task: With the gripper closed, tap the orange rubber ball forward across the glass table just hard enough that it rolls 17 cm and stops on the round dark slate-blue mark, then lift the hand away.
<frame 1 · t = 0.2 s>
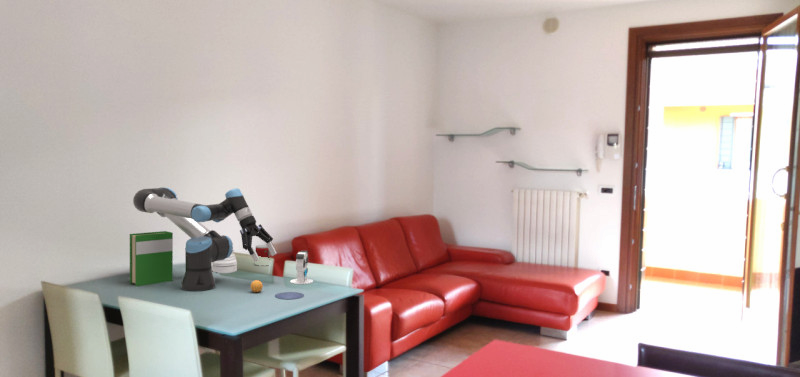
hand: (265, 257, 276), 15 cm above the table, tool tilted 35°, fingers open, 13 cm apart
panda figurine: (301, 282, 291), on the table
honey pot: (224, 271, 313), on the table
canned food: (262, 265, 331), on the table
ball: (256, 286, 267), on the table
hardback book: (151, 282, 282), on the table, touching arm
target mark: (289, 295, 262), on the table
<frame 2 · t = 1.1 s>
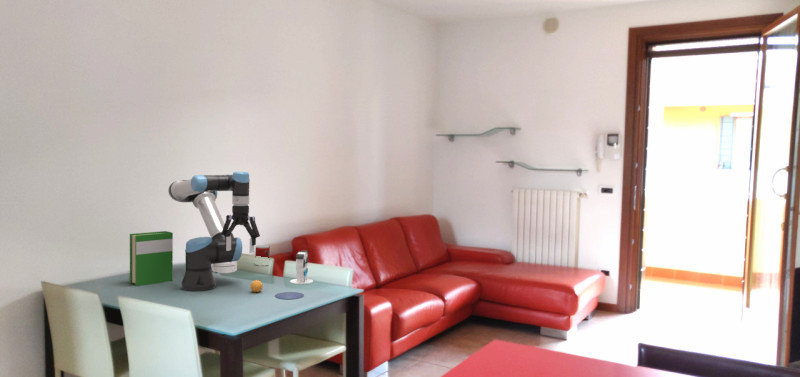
hand: (240, 251, 269), 18 cm above the table, tool pointing down, fingers open, 12 cm apart
hardback book: (151, 282, 282), on the table
everything else where it was.
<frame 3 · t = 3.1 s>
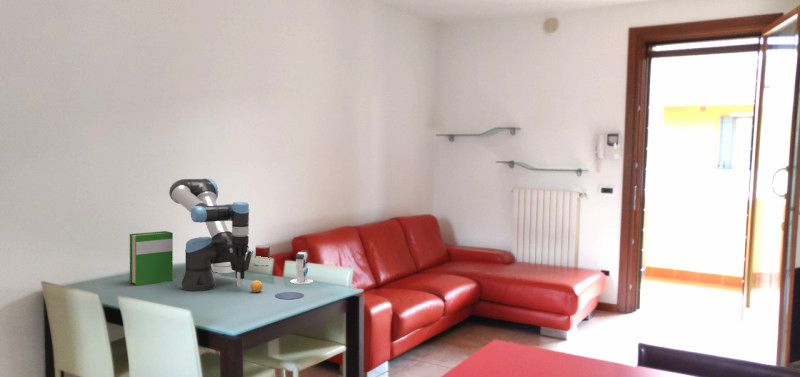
hand: (239, 285, 270), 2 cm above the table, tool pointing down, fingers closed
nothing on the table moved.
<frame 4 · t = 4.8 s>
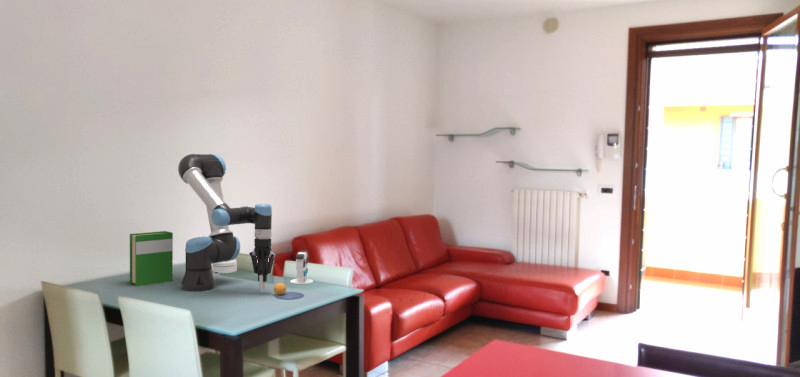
hand: (262, 288, 266), 2 cm above the table, tool pointing down, fingers closed
ball: (279, 288, 263), on the table
everything else where it was.
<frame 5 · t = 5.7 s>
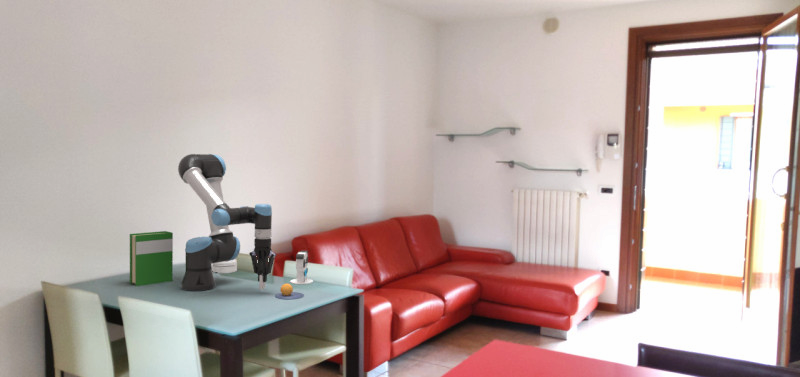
hand: (262, 288, 266), 2 cm above the table, tool pointing down, fingers closed
ball: (286, 289, 262), on the table
everything else where it was.
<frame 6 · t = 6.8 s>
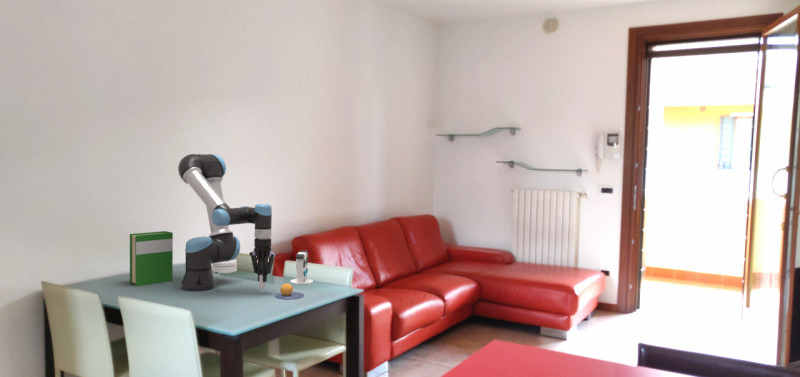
hand: (262, 288, 266), 2 cm above the table, tool pointing down, fingers closed
nothing on the table moved.
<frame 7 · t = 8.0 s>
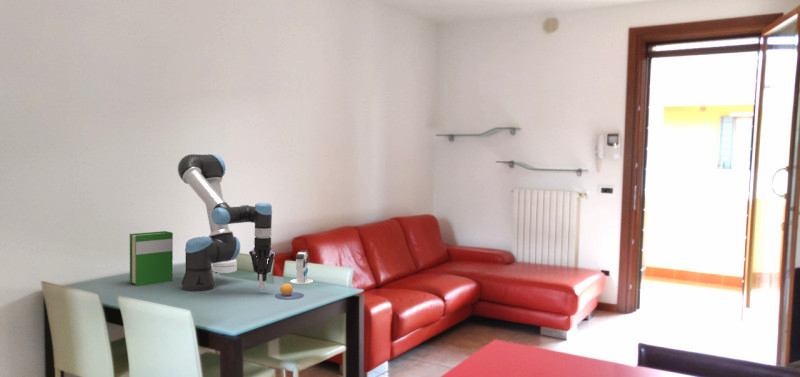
hand: (261, 287, 267), 2 cm above the table, tool pointing down, fingers closed
nothing on the table moved.
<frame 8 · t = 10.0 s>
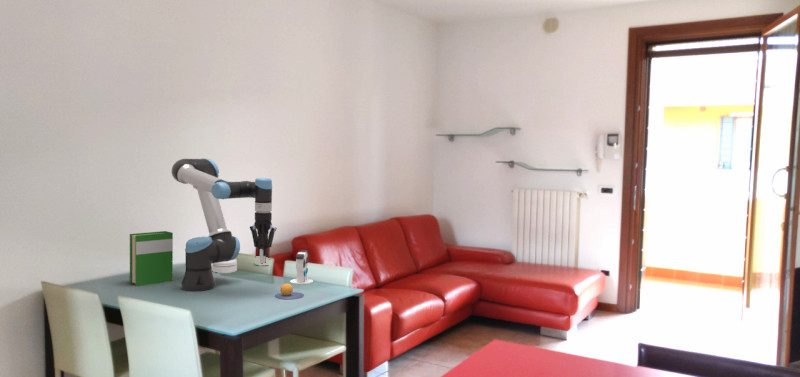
hand: (262, 262, 266), 14 cm above the table, tool pointing down, fingers closed
nothing on the table moved.
at the end: ball 1.3 cm from the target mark (horizontally); ball at rest at the end (0.0 cm/s); ball moved 15.7 cm from its start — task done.
